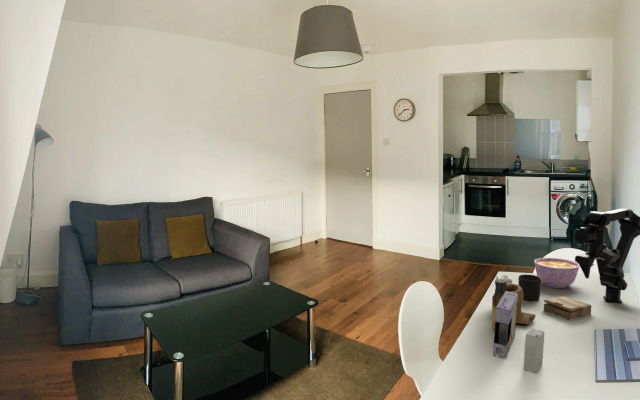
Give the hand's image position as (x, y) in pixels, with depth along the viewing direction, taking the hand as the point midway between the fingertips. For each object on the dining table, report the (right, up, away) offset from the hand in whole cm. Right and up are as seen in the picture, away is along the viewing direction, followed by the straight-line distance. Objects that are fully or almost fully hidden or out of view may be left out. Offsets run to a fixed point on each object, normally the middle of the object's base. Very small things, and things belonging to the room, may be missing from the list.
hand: (594, 276), depth 193 cm
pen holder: (-23, -12, +12) cm, 28 cm away
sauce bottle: (-50, -17, -23) cm, 57 cm away
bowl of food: (-1, -10, +29) cm, 31 cm away
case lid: (-15, -11, -6) cm, 19 cm away
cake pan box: (-54, -19, -36) cm, 67 cm away
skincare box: (-51, -21, -51) cm, 74 cm away
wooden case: (-15, -14, -5) cm, 21 cm away
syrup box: (-40, -14, -1) cm, 42 cm away
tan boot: (-41, -16, -14) cm, 46 cm away
